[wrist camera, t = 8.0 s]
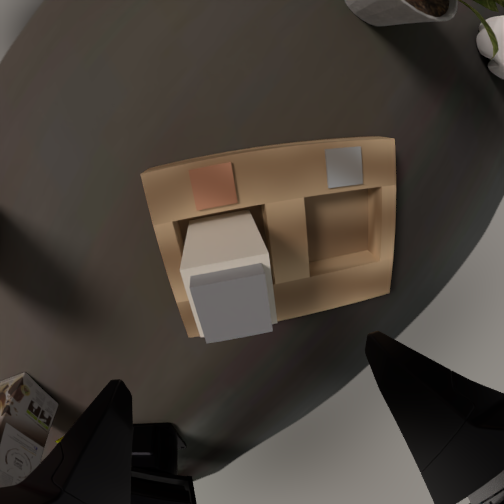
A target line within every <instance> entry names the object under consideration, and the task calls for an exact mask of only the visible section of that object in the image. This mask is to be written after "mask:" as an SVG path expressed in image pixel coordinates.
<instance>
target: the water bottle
mask: <svg viewBox="0 0 504 504" xmlns="http://www.w3.org/2000/svg"><path fill="white" fill-rule="evenodd" d="M485 21H486V22H487V23H488V25H489V26H490V27H491V29H492V30H493V32H494V34H495V36H496V39H497V42H498V49H499V50H498V52H497V53H496V55H495V56H494V58H492V57H493V45H492V43H491V40H490V38H489V35H488V33H487V31H486V29H485V27H484V25H483V24H482V23H481V24H480V26H479V28H478V29H479V31H480V32H479V34H478V35H477V39H476V43H477V47H478V50H479V52H480V54H482V55H483V56H485V57H487V58H490V59H491V58H492V59H491V61H490V62H489V63H488V66H487V67H488V68H489V70H490V71H491V72H492V73H493V74H495V75H496V76H498V77H499V78H501V79H503V80H504V16H496V17H491V18H489V19H487V20H485Z"/></svg>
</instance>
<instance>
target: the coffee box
mask: <svg viewBox="0 0 504 504" xmlns="http://www.w3.org/2000/svg"><path fill="white" fill-rule="evenodd" d="M57 408H58V403H57V402H56V401H55V400H54V399H52V398H51V397H50V396H49V395H48V394H47V393H46V392H45V391H44V390H43V389H42V388H41V387H40V386H39V385H38V384H37V383H36V382H35V381H34V380H33V379H32V378H31V377H30V376H29V375H28V374H27V373H22V374H19V375H16V376H14V377H11V378H8V379H5V380H3V381H0V487H6V486H12V485H16V484H18V483H20V482H22V481H23V480H24V479H25V478H26V477H27V476H28V475H29V474H30V473H31V472H32V471H33V470H34V469H35V468H36V467H37V466H38V465H39V464H40V460H41V457H42V454H43V450H44V446H45V443H46V440H47V437H48V434H49V431H50V428H51V425H52V422H53V419H54V416H55V413H56V410H57Z"/></svg>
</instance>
